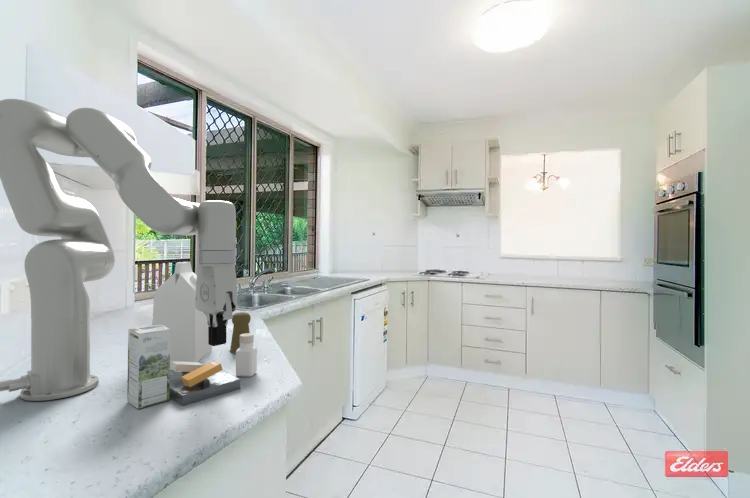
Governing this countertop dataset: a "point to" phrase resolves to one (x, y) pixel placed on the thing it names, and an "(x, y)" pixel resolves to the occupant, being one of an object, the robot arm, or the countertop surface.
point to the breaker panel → (201, 387)
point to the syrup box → (148, 365)
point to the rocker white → (185, 366)
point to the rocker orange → (201, 373)
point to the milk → (182, 315)
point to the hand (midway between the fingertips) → (217, 344)
